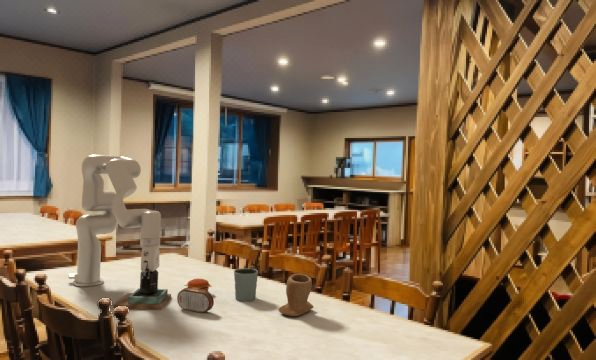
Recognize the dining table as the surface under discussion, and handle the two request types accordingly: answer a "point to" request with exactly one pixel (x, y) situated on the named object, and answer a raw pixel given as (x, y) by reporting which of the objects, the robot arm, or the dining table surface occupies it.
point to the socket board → (144, 300)
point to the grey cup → (245, 284)
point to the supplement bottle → (153, 284)
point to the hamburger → (198, 284)
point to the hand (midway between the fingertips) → (148, 285)
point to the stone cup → (297, 295)
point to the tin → (195, 300)
